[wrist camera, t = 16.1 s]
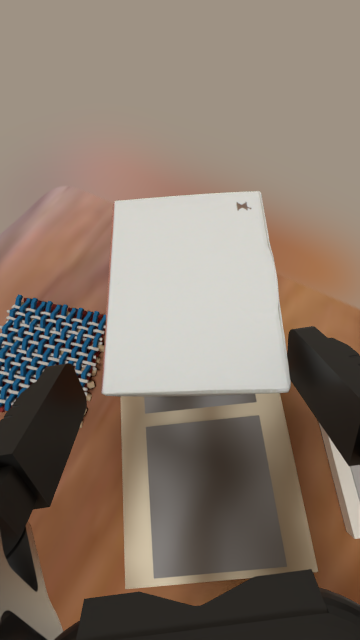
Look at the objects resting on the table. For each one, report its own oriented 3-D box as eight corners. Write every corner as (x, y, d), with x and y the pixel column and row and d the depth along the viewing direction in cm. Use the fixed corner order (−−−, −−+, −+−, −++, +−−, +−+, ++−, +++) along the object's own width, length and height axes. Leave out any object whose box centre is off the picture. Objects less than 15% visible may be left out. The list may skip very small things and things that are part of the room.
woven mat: (-22, 404, 23) (-42, 405, 21) (25, 299, 26) (11, 291, 24) (82, 433, 22) (71, 437, 20) (119, 320, 25) (113, 313, 23)
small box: (156, 306, 23) (111, 195, 10) (225, 302, 22) (265, 185, 10) (156, 398, 20) (96, 398, 8) (234, 396, 20) (299, 392, 8)
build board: (129, 577, 18) (124, 590, 17) (121, 306, 24) (117, 301, 23) (310, 560, 18) (319, 573, 16) (253, 291, 24) (257, 285, 23)
